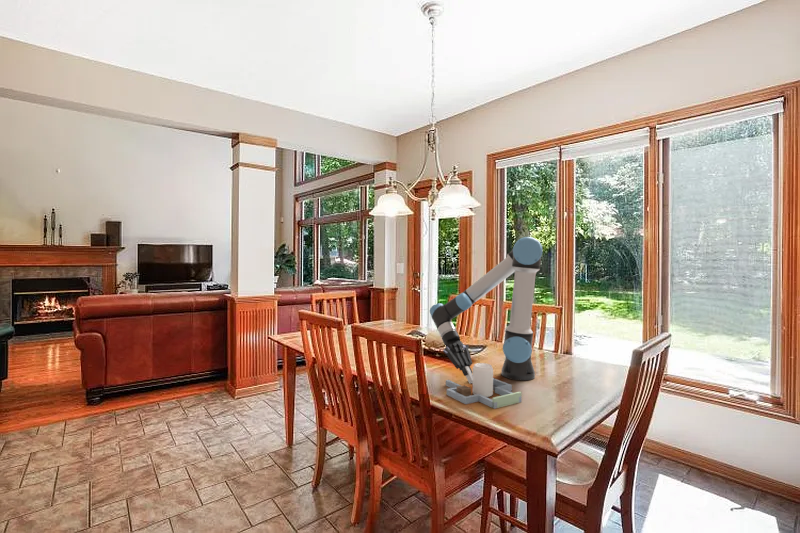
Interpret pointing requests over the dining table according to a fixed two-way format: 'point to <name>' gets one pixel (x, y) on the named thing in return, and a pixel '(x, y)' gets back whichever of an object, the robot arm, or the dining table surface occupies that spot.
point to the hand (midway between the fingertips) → (472, 381)
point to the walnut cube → (464, 390)
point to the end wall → (506, 399)
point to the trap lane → (498, 387)
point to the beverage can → (483, 379)
